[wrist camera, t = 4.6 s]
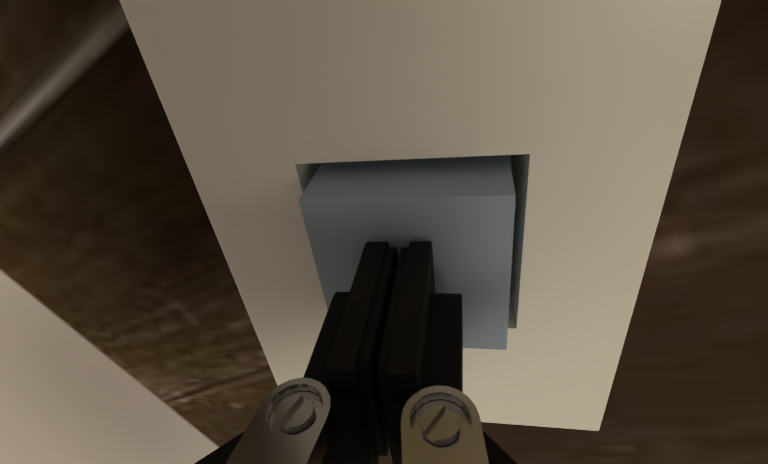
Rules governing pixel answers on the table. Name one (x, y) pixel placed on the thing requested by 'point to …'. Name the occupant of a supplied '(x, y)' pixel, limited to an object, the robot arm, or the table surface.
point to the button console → (442, 154)
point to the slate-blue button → (421, 228)
